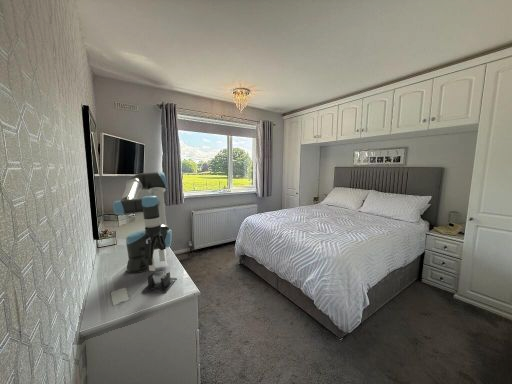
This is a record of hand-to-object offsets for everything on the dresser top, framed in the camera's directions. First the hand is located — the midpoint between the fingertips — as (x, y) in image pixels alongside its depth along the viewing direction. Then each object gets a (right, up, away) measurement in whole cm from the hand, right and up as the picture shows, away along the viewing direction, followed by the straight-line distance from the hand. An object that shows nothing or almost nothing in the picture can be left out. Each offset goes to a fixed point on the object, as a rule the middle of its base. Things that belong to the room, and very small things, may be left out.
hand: (157, 265), depth 114 cm
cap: (+1, -11, +1) cm, 11 cm away
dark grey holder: (+1, -11, +2) cm, 12 cm away
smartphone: (-16, -14, -6) cm, 22 cm away
